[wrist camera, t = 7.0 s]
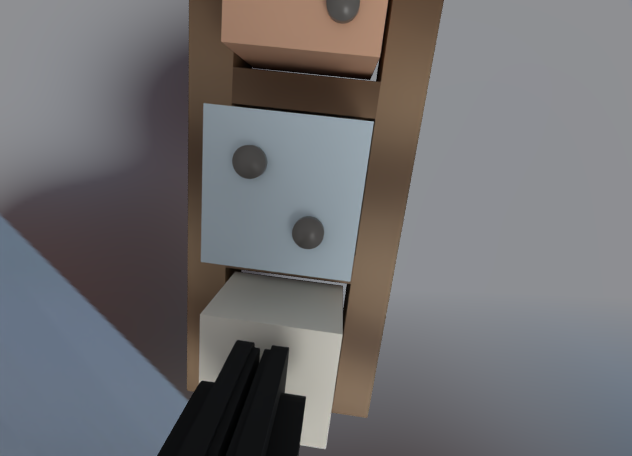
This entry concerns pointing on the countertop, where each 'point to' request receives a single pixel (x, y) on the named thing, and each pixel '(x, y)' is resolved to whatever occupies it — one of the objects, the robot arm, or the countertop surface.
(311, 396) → the tile one pip
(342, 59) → the tile three pip
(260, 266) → the tile two pip
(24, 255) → the countertop surface
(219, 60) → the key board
